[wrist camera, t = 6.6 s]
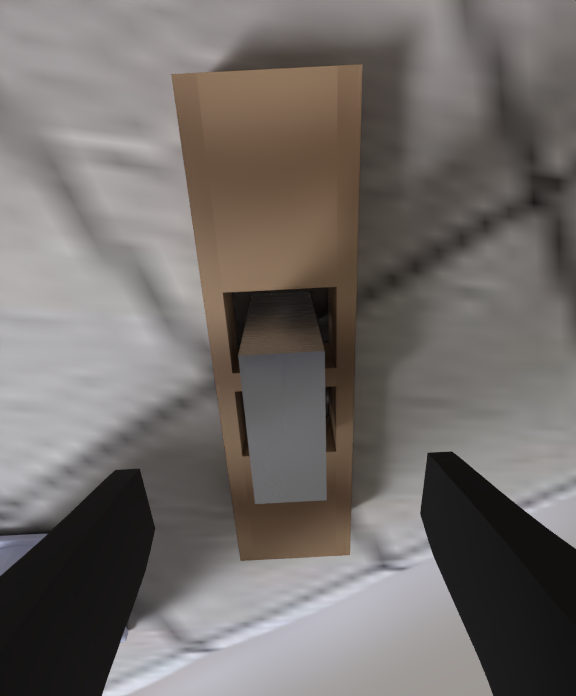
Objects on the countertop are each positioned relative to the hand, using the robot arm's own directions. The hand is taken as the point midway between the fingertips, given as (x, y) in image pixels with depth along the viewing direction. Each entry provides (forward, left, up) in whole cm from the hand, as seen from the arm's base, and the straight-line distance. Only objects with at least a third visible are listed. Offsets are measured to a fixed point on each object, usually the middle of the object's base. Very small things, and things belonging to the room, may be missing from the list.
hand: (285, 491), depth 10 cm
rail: (0, 0, -8) cm, 8 cm away
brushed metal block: (0, 0, -8) cm, 8 cm away
